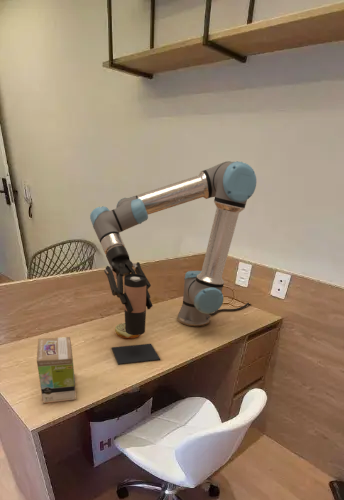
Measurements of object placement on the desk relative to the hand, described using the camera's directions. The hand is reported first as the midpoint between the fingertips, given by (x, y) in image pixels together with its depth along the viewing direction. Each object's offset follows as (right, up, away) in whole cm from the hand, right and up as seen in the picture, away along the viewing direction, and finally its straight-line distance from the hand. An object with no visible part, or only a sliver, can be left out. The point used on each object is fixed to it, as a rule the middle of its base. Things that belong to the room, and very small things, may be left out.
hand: (140, 309), depth 118 cm
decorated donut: (-8, -5, +27) cm, 29 cm away
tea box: (-25, -28, -9) cm, 38 cm away
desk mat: (-3, -15, +13) cm, 20 cm away
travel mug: (-3, -7, +7) cm, 10 cm away
